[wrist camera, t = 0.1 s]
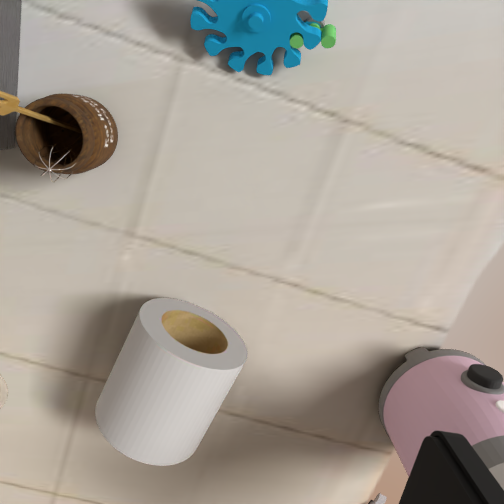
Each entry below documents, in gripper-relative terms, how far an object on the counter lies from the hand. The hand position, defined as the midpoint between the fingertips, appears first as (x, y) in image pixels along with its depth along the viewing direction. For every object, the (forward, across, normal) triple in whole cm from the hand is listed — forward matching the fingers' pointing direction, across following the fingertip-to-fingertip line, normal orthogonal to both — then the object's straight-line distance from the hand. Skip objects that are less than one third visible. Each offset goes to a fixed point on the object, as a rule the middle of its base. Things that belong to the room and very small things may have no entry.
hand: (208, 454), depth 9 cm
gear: (+31, 0, -14) cm, 34 cm away
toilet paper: (+32, +2, +16) cm, 35 cm away
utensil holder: (+31, +13, -3) cm, 34 cm away
